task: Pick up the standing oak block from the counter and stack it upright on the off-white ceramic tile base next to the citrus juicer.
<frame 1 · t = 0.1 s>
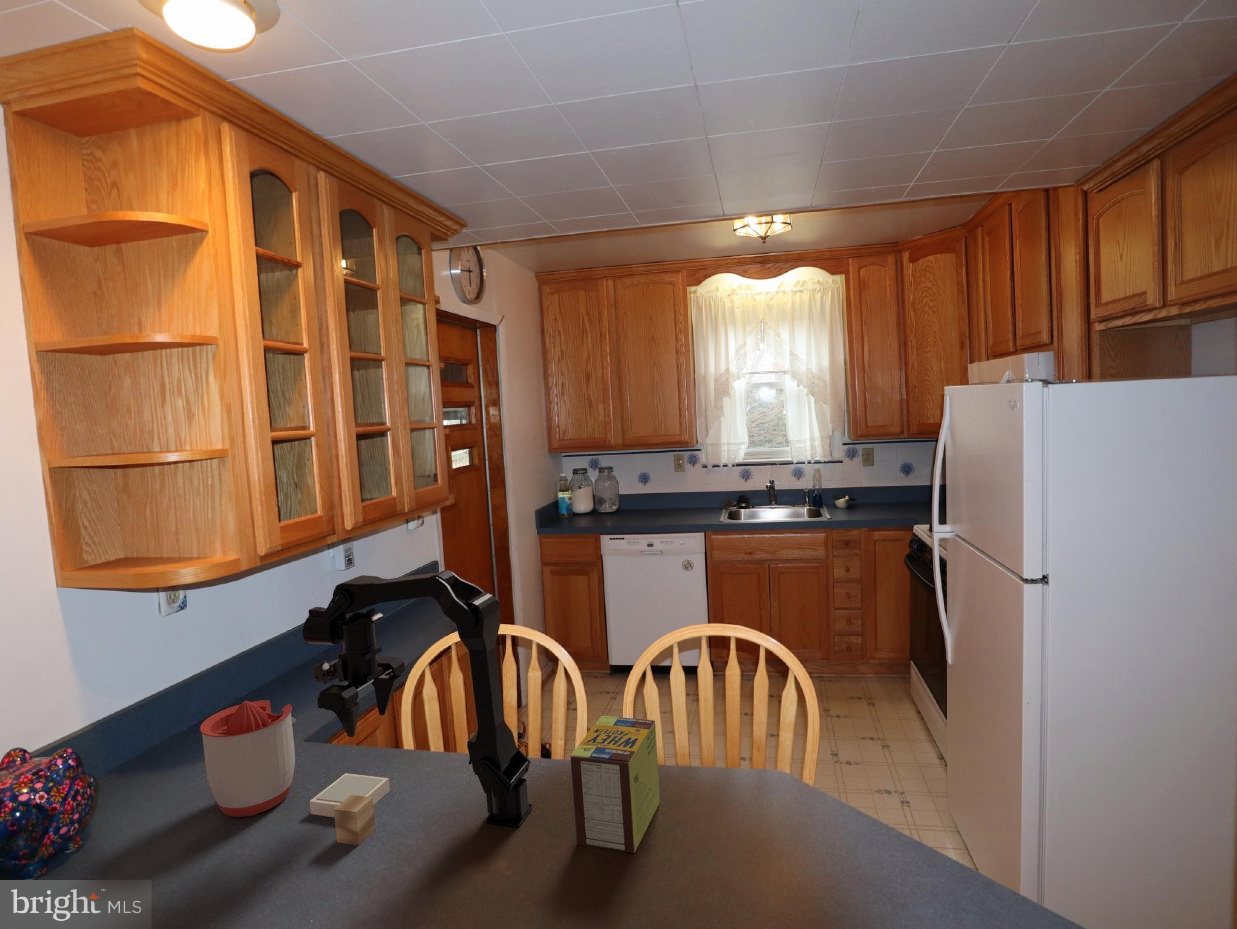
hand: (367, 725, 133), 15 cm above the counter, fingers open, 9 cm apart
protein box: (619, 823, 123), on the counter
oak block: (356, 836, 123), on the counter
citrus juicer: (260, 799, 137), on the counter
tile base: (351, 802, 134), on the counter
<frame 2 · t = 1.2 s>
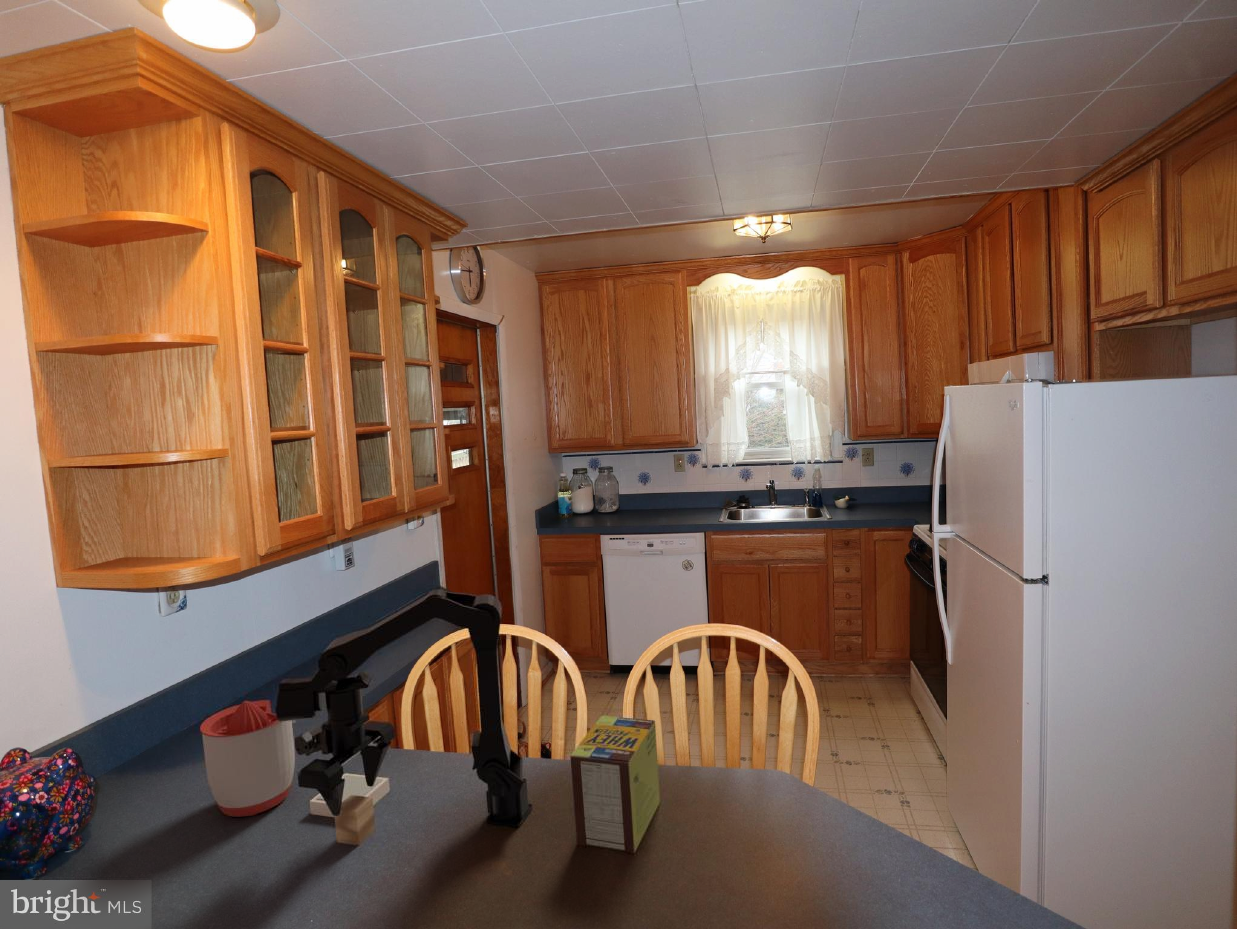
hand: (353, 800, 123), 6 cm above the counter, fingers open, 9 cm apart
nothing on the counter moved.
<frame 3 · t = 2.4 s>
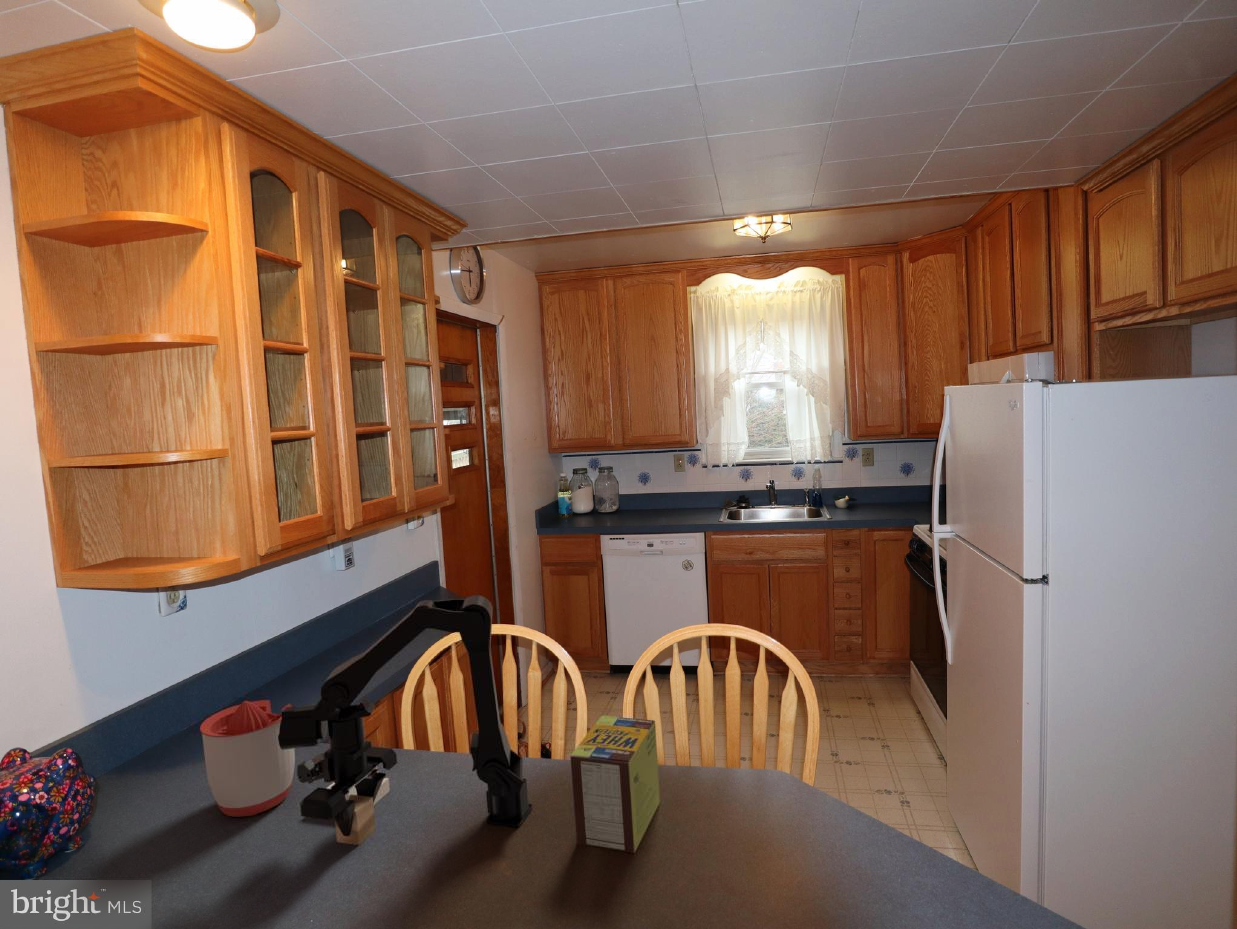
hand: (355, 827, 123), 2 cm above the counter, fingers closed on oak block, 4 cm apart
oak block: (356, 835, 123), on the counter, touching gripper
everything else where it was.
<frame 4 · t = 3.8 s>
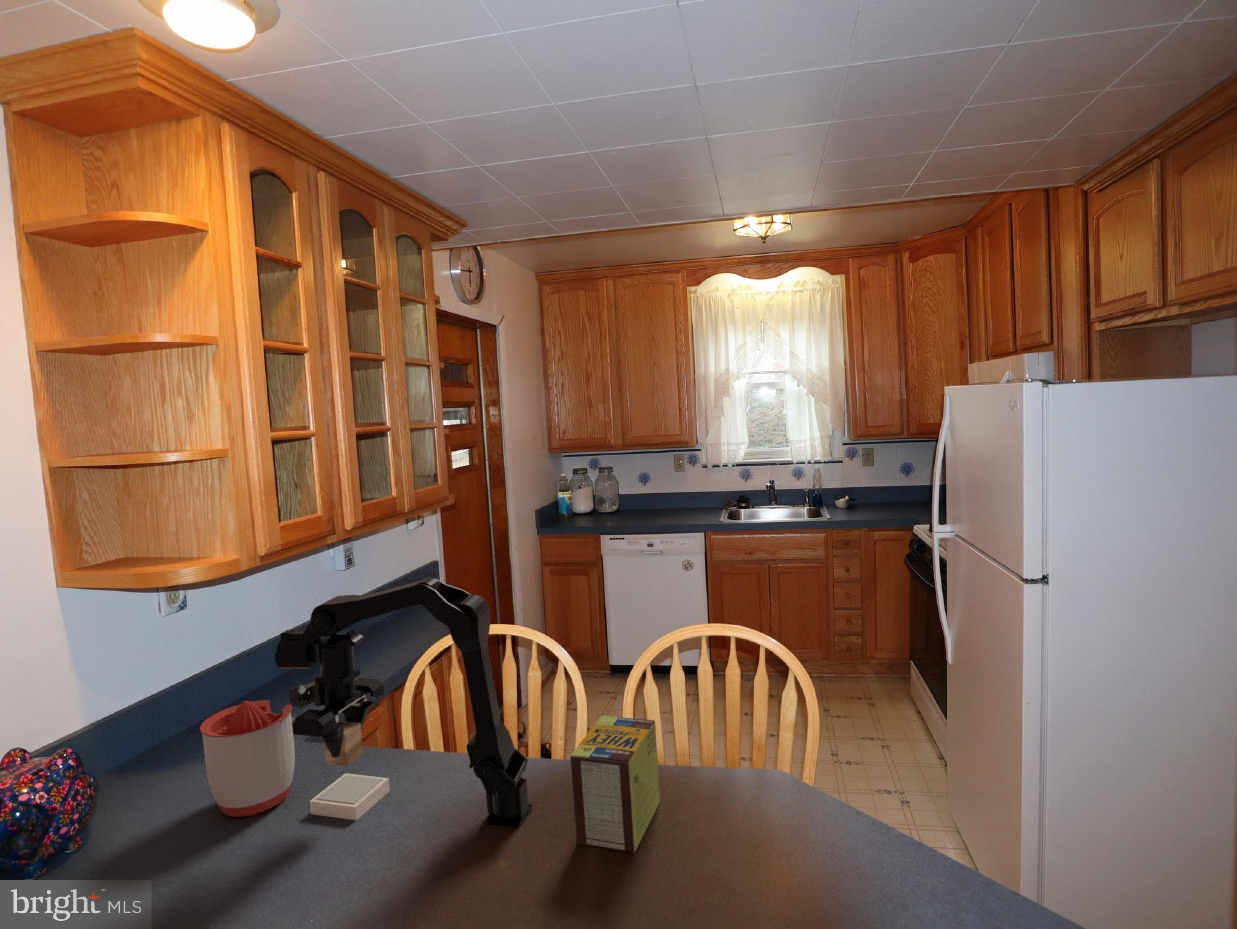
hand: (344, 750, 130), 12 cm above the counter, fingers closed on oak block, 4 cm apart
oak block: (344, 758, 130), point 10 cm above the counter, touching gripper
everything else where it was.
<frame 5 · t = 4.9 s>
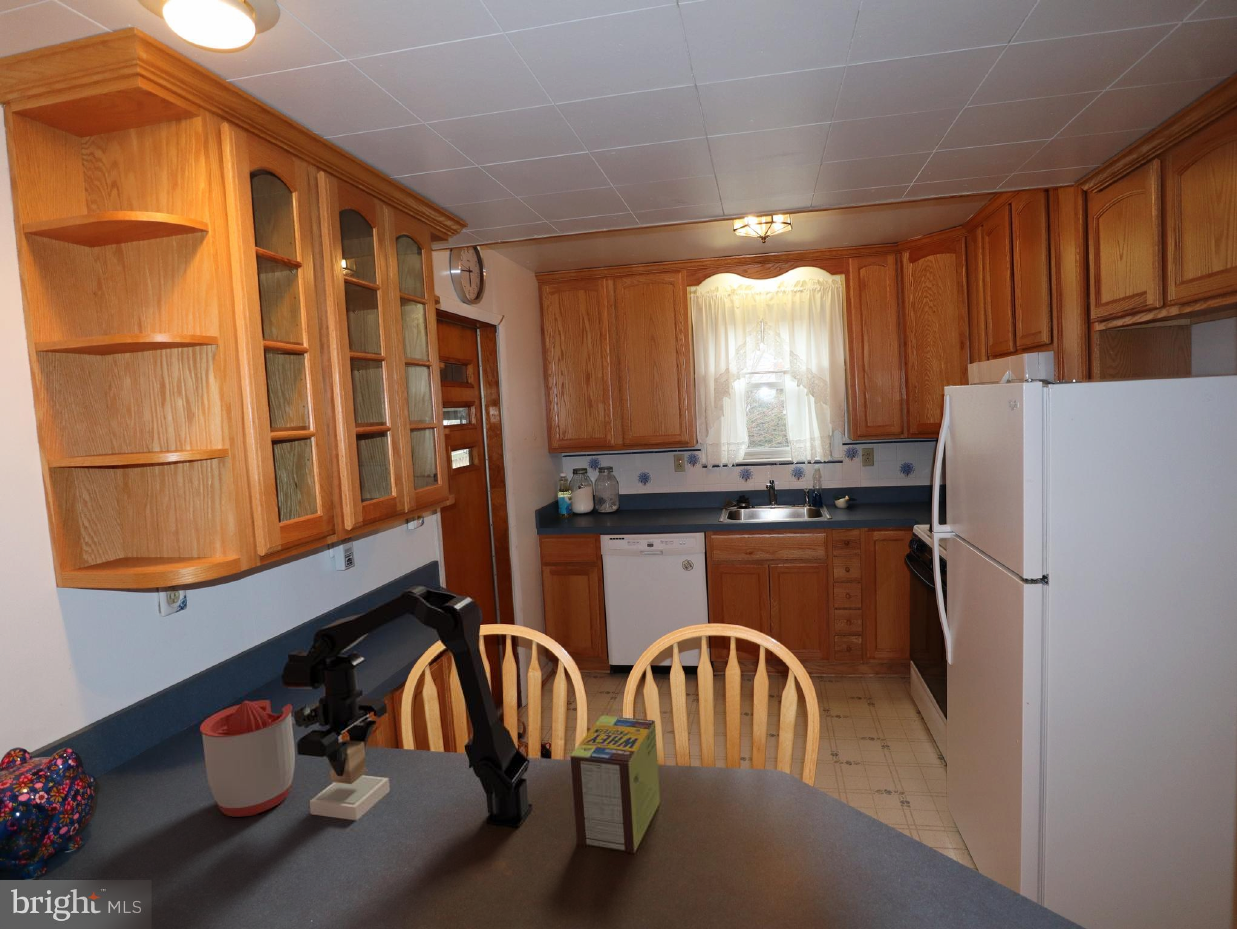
hand: (348, 768, 134), 7 cm above the counter, fingers closed on oak block, 4 cm apart
oak block: (349, 776, 134), point 5 cm above the counter, touching gripper
everything else where it was.
when the fingers open (5 cm above the counter, at t = 5.5 s): oak block drops 1 cm, resting on tile base.
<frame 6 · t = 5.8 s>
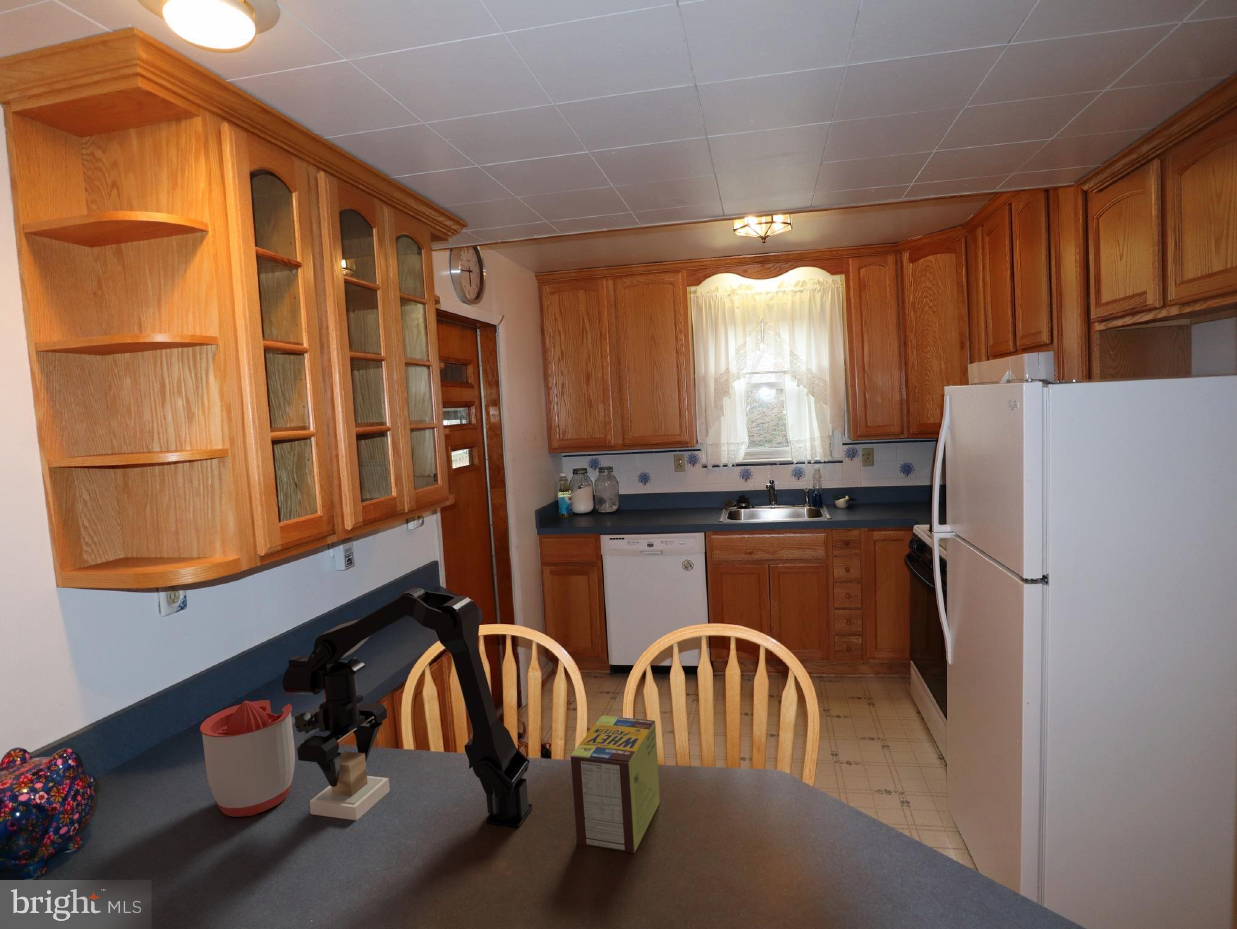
hand: (348, 774, 134), 5 cm above the counter, fingers open, 8 cm apart
oak block: (349, 788, 134), point 3 cm above the counter, touching tile base
everything else where it was.
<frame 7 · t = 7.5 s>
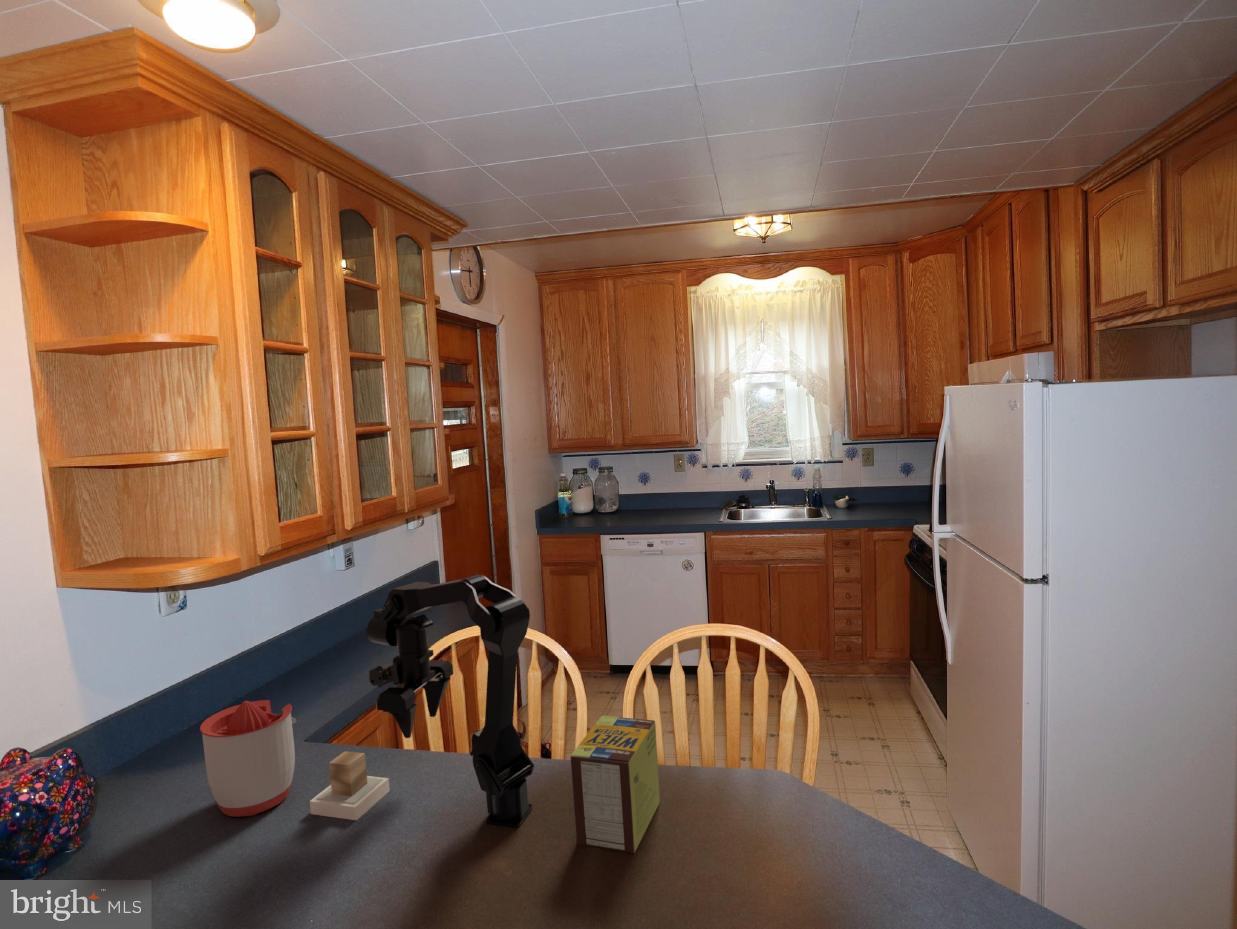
hand: (420, 726, 138), 12 cm above the counter, fingers open, 9 cm apart
nothing on the counter moved.
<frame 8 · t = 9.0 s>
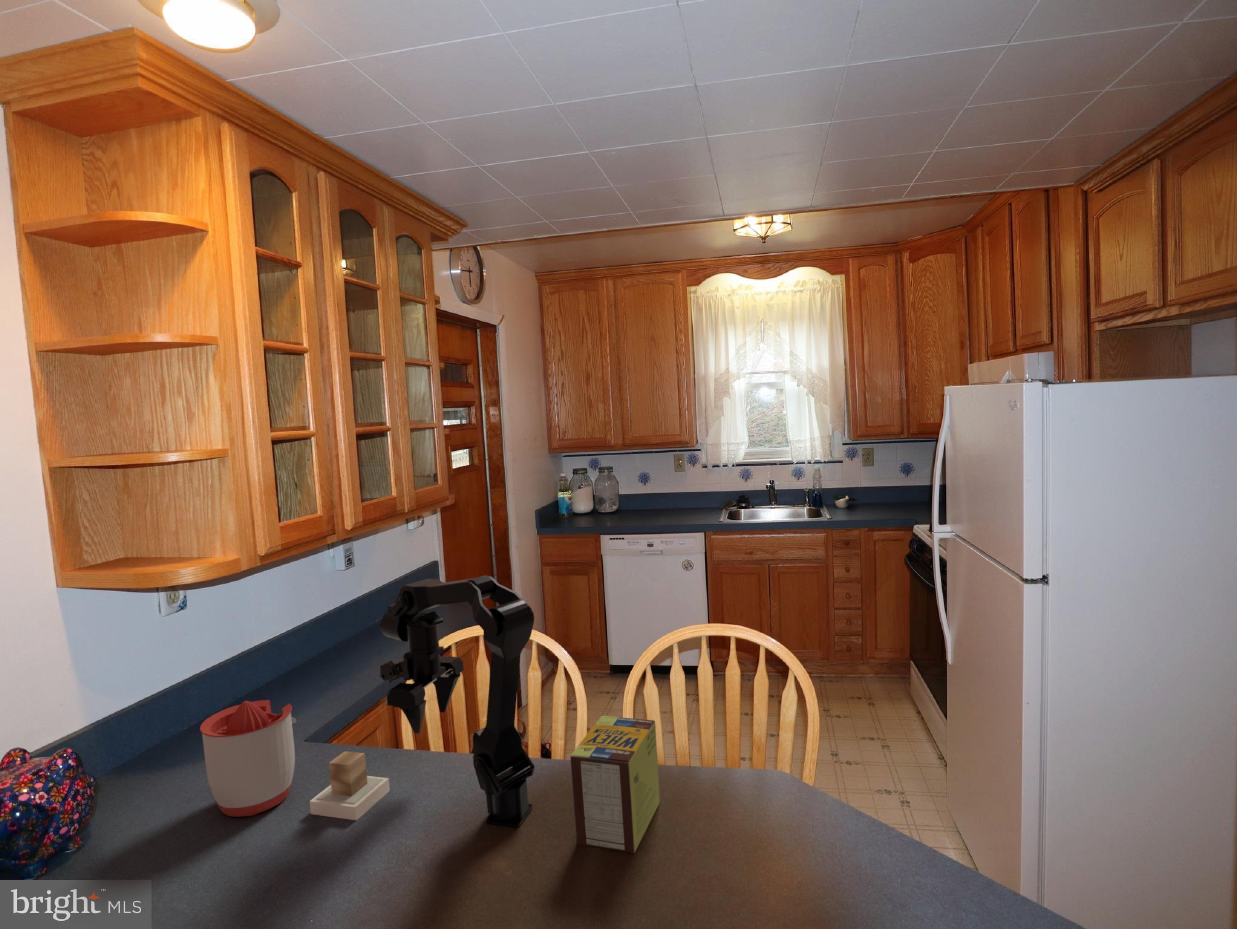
hand: (430, 722, 139), 12 cm above the counter, fingers open, 9 cm apart
nothing on the counter moved.
at the end: oak block inside the target area on the tile base (0.0 cm from its centre), point 2.7 cm above the tile base's base; oak block tilted 0°; the gripper is holding nothing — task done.
